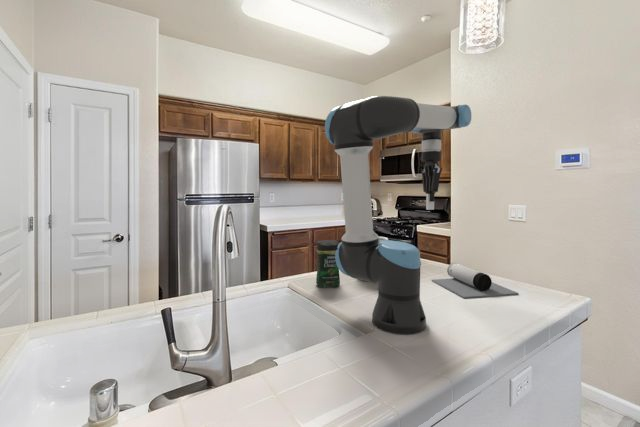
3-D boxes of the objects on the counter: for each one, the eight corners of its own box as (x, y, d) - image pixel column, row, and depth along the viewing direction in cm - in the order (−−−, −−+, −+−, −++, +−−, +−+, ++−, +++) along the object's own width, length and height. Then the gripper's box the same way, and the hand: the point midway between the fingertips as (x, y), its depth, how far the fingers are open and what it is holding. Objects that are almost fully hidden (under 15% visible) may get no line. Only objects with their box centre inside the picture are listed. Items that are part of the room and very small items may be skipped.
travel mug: (443, 272, 136) (475, 285, 116) (452, 259, 136) (485, 271, 117) (453, 280, 137) (486, 295, 117) (462, 268, 137) (496, 281, 118)
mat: (518, 294, 115) (518, 292, 115) (463, 298, 111) (463, 296, 111) (478, 278, 137) (478, 276, 136) (431, 281, 133) (431, 279, 133)
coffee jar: (318, 289, 124) (317, 242, 123) (315, 283, 132) (314, 239, 130) (342, 287, 125) (341, 241, 124) (337, 281, 133) (337, 238, 132)
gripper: (448, 149, 122) (447, 210, 123) (432, 153, 134) (430, 208, 136) (430, 149, 121) (429, 210, 122) (415, 153, 133) (414, 208, 135)
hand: (430, 209), depth 129 cm, fingers closed
